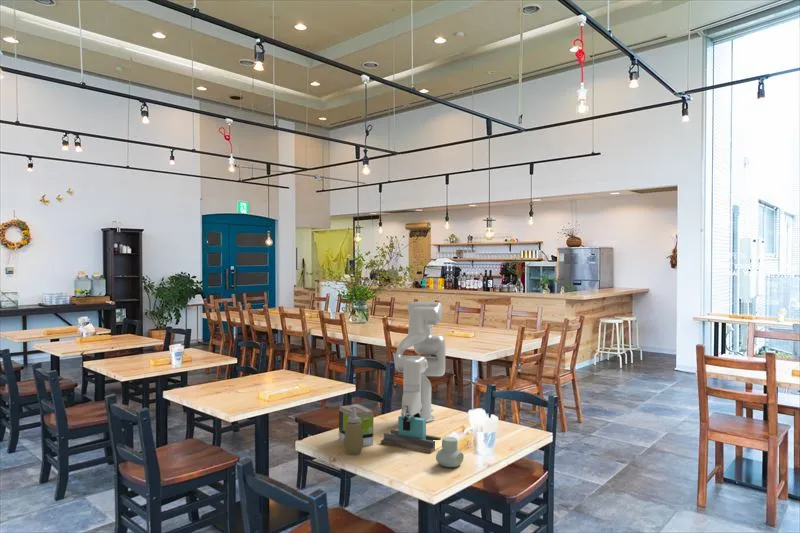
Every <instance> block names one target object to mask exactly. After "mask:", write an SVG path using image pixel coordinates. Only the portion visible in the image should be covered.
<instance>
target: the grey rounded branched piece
mask: <svg viewBox="0 0 800 533" xmlns="http://www.w3.org/2000/svg"><path fill="white" fill-rule="evenodd" d="M441 441H442V446H441V449H440V448H439V449H438V451H437V453H436V455H435V460H436V462H437V463H438V465H440V466H441V467H445V468H457V467H458V466H460V465H462V463H463V461H464V454H463V452H462V451H461V450H460V449H458V448H459V447H458V445H459V444H458V439H457V438H456V437H452V436H446V437H443V438H442V440H441Z"/></svg>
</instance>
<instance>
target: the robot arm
mask: <svg viewBox="0 0 800 533" xmlns="http://www.w3.org/2000/svg"><path fill="white" fill-rule="evenodd" d="M443 309H444V308H443V306H442V303H440V302H438V301H412V302H409V303H408V305H407V313H408V315H409V320H408V330H407V335H406V336H405V337H404V338H403V339H402V340H401V341H400V343H398V345H397V347H396V348H397V349H396V353H395V361H394V364H395V366H394V368H395V370H396V371H397V372H398V373H403V382H402V383H403V385H402V386H403V393H402V397H401V398H402V399H401V412H400V416H401V415H402V421H403V430H405V431H410V421H409V420H410V417H417V418H424V419H426V423H430V422H433V421H434V420H435V416H434V415H432V413H433V412H434V411H435V410H434V408H433V407H432V383H431V381H430V380H429V379H428V377H443V376H444V375H445V373H446V340H445V338H444V337H443V336H441V335H435V334H434V335H433V334H432V335H431V325H432V326H437V325H439V324H440V323H441V320H442V317H443ZM410 347H413V349H414V353H416V354H419V355H403V354H404V352H406V350H407V349H408V348H410ZM420 354H421V355H420ZM422 355H435V356H422ZM406 416H408V418H407V417H406Z"/></svg>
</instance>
